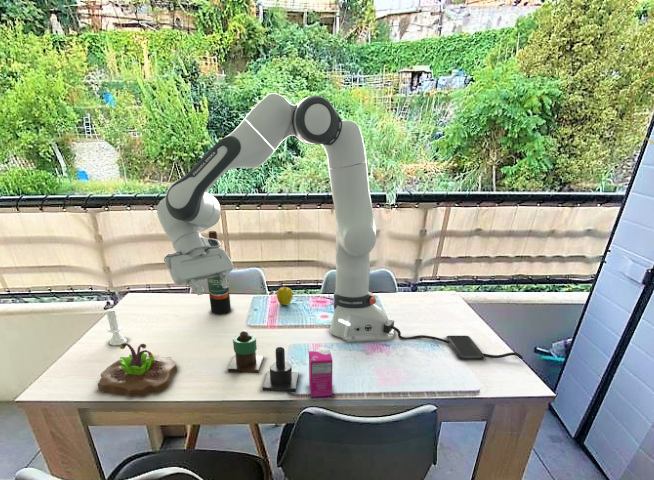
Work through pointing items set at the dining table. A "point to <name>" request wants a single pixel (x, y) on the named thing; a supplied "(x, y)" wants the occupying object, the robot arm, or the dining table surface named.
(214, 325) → the dining table surface
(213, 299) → the wine bottle
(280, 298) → the apple
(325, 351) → the supplement box
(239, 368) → the walnut stand
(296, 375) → the black stand
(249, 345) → the ring
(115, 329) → the candle
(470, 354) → the phone
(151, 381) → the plant
